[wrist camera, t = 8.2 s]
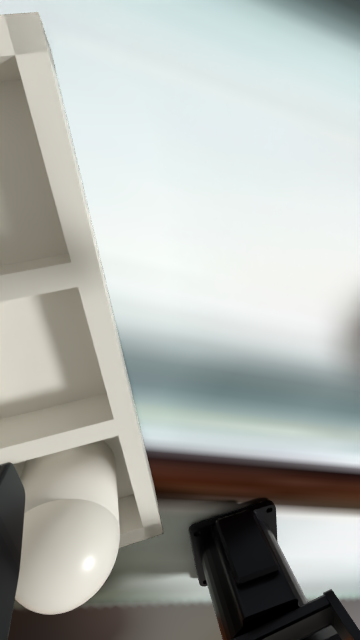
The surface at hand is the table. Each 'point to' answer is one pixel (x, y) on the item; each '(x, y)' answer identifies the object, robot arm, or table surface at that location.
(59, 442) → the carton
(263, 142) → the table surface
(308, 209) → the table surface
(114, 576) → the table surface
